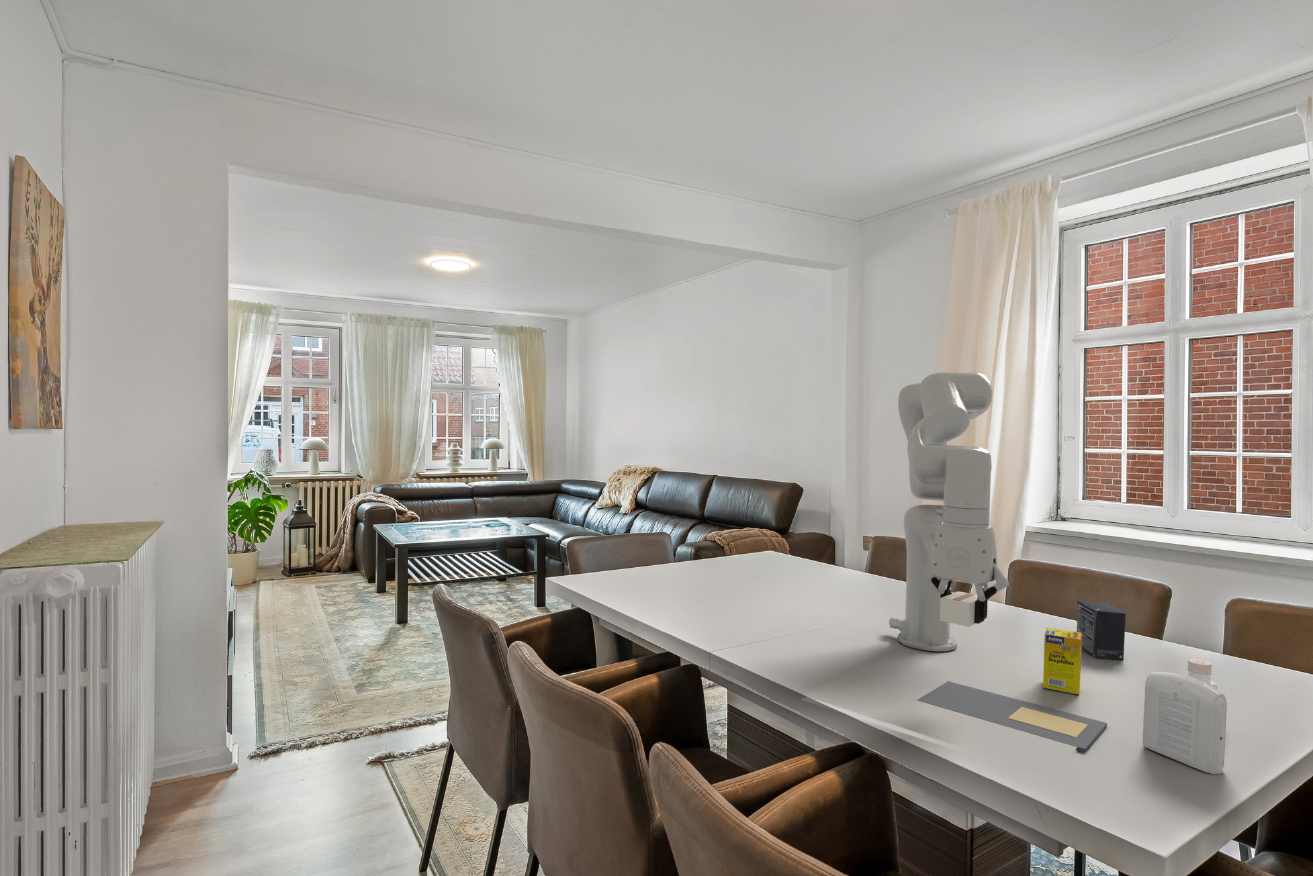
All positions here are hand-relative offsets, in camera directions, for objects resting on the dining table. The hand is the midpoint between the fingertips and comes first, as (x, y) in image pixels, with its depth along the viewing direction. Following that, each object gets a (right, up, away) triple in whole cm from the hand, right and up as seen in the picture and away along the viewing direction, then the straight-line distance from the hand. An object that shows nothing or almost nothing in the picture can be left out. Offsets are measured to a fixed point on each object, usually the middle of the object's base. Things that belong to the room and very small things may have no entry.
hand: (963, 617), depth 125 cm
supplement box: (+21, -16, +7) cm, 27 cm away
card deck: (0, 0, 0) cm, 0 cm away
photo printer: (+23, -16, -21) cm, 35 cm away
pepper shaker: (+38, -16, -5) cm, 42 cm away
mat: (+5, -15, -6) cm, 17 cm away
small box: (+44, -16, +32) cm, 57 cm away
